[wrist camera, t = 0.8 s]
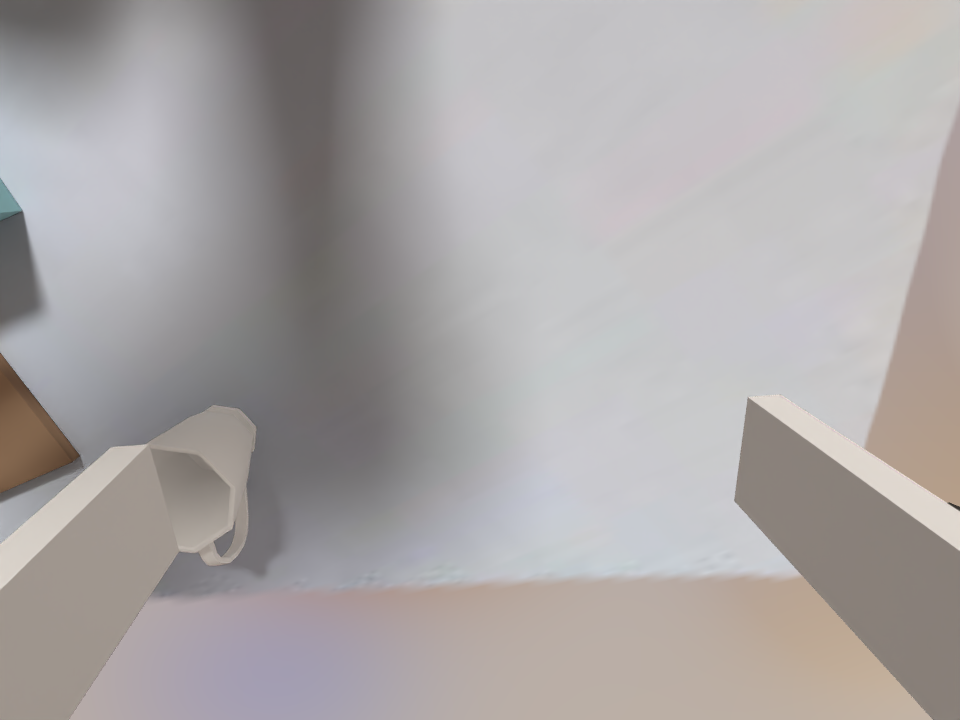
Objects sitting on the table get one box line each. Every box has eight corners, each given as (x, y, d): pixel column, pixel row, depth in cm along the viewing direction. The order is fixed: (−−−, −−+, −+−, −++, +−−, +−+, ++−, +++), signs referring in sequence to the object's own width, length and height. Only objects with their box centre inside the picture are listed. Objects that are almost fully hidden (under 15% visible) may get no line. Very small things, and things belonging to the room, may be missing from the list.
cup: (258, 375, 36) (211, 430, 28) (304, 503, 39) (273, 582, 31) (153, 398, 36) (77, 458, 28) (207, 523, 39) (152, 608, 31)
